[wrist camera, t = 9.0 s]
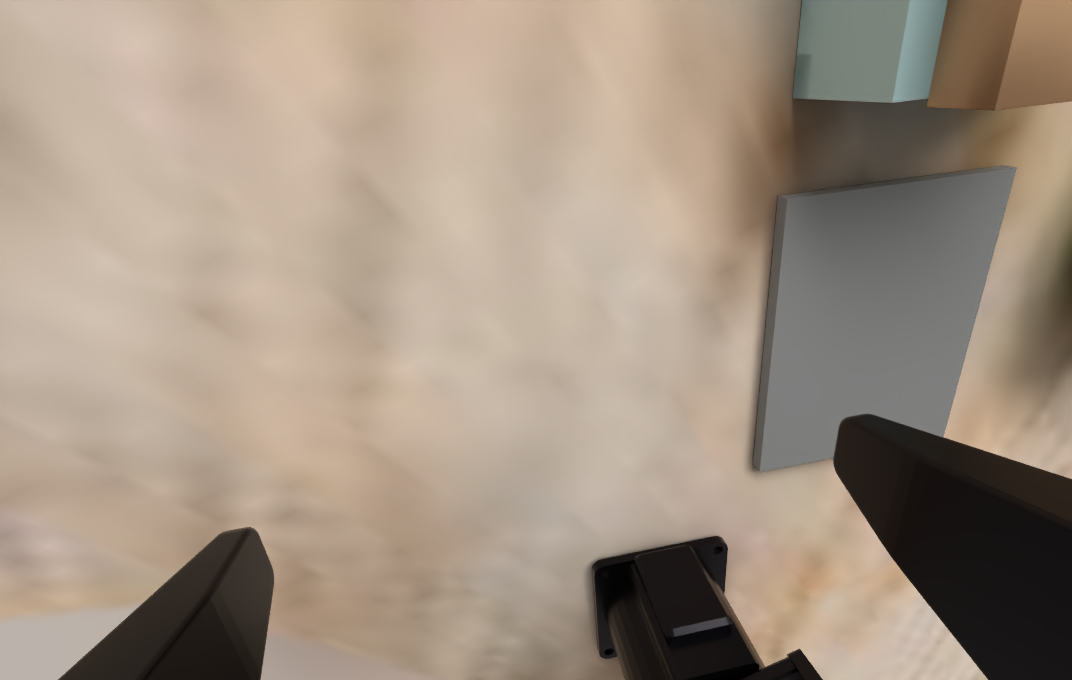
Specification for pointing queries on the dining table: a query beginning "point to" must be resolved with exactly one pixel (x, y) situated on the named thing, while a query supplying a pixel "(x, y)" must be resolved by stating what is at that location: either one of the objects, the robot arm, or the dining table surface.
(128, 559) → the dining table surface
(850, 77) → the dish
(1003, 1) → the board
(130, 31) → the dining table surface
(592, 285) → the dining table surface
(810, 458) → the mat
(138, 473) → the dining table surface
